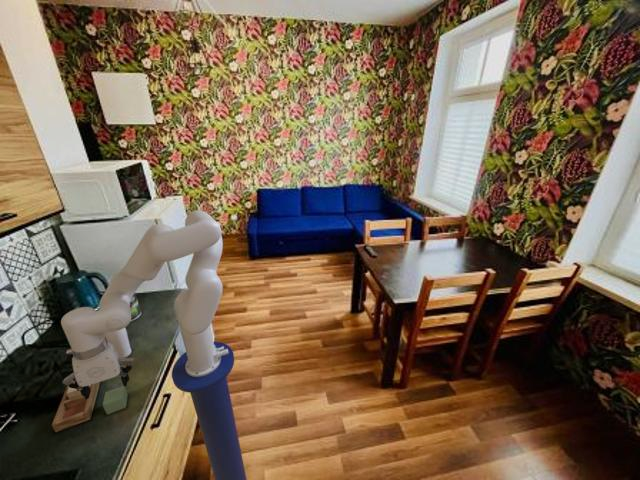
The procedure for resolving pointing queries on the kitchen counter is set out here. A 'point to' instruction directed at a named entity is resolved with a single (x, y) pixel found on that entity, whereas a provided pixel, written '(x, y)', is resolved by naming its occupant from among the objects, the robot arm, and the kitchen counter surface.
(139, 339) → the kitchen counter surface
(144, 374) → the kitchen counter surface
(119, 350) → the drinking glass
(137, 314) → the coffee can
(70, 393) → the cream pad
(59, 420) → the pad frame
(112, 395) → the sage pad
